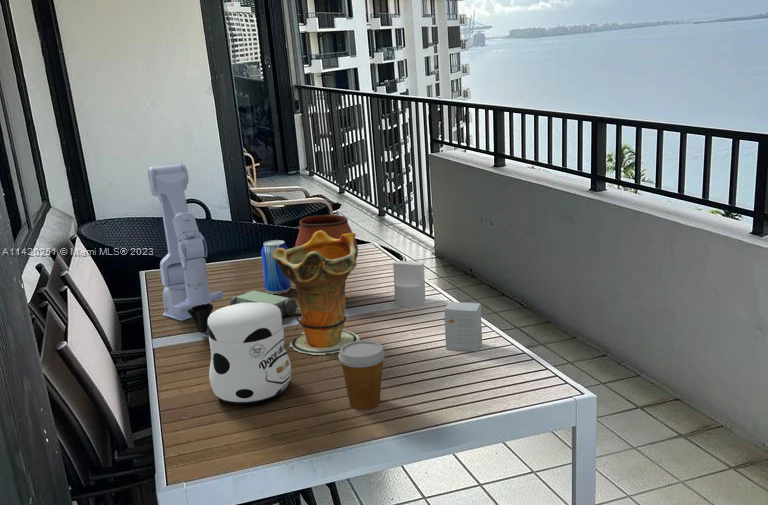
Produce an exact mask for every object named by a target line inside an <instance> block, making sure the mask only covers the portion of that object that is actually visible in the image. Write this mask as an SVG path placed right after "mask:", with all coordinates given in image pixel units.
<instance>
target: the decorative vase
mask: <svg viewBox="0 0 768 505" xmlns="http://www.w3.org/2000/svg"><path fill="white" fill-rule="evenodd" d="M356 235H357V234H356V233H355V232H352V233H348V234H343V235H341V237H340V239H334V238H332V237H329V236H328V235H327V233H326V232H324V231H322V230H320V231H317V232H315V233H314V234H313V236H312V238H311V239H310V241H309V242H307V243H305V244H303V245H302V246H297V247H295V246H294V247H292V248H288V249H287V250H285V249H284V248H277V249H275V250H274V251H273V253H272V257H273V259H275V260H276V261H277V264H278V266H279V268H280V270H281V272H282V273H283V274H284V275H285V276H286V277H287V278H288V279H290V280H291V283H293V284H294V286H295V290H296V292H297V299H298V305H299V309H300V313H301V318H300V319H299V321H298V323H297V327H296V328H295V330H297V329H298V325H301V326H302V328H303V332H301V334H300V335H298V336H297V337H295V334H294V337H295V338H293V340H291V342H289V345H288V347H291V348H293V350H294V351H296V352H298V353H303V354H307V355H308V354H310V355H313V356H314V355H316V356H317V355H318V356H322V355H323V356H325V355H326V354H332V355H333V354H335V353H336V354H337V353H340V349H341V347H342V346H344V345H345V344H348V343H351V342H355V341H361V338H360V336H359V335H358V334H356V333H354V332H352V331H349V330H345V329H344V328H345V322H346V320H347V316H346V315H345V312H346V302H347V299H346V281H347V278H348V276H349V275H350V273H351V272H352V271H353V270H354V269H355V268H356V267H357V260H356V261H355V257H356V248H355V245H354V239H356V237H357V236H356ZM305 342H307V344H308V347H307V345H305V344H304V343H305ZM319 348H324V349H319Z"/></svg>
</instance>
